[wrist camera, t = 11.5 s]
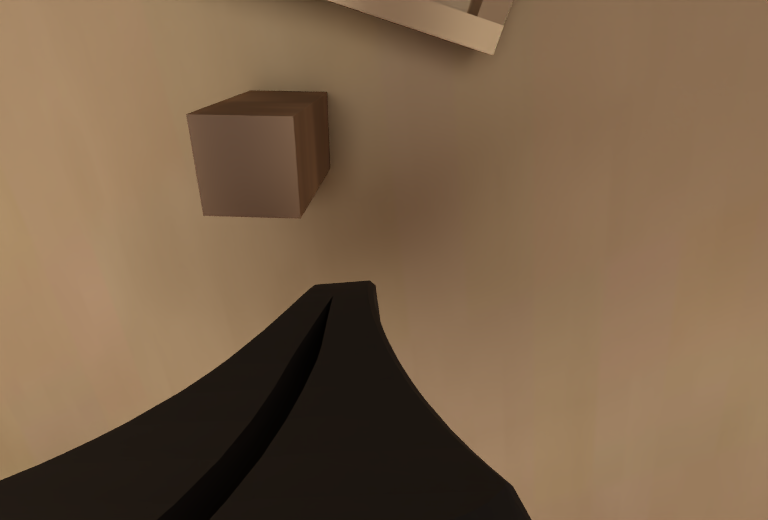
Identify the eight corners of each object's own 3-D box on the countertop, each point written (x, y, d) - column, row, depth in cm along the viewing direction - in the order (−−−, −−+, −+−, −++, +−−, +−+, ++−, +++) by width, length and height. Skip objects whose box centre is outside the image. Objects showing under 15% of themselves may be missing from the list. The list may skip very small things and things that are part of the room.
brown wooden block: (326, 91, 18) (293, 116, 13) (330, 168, 19) (300, 218, 14) (250, 90, 18) (186, 114, 13) (258, 166, 19) (203, 215, 14)
